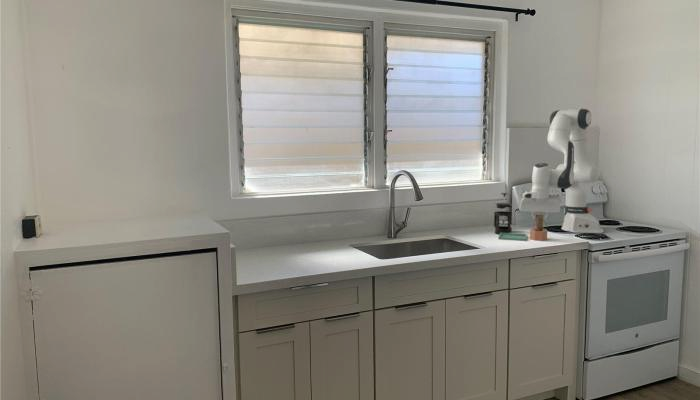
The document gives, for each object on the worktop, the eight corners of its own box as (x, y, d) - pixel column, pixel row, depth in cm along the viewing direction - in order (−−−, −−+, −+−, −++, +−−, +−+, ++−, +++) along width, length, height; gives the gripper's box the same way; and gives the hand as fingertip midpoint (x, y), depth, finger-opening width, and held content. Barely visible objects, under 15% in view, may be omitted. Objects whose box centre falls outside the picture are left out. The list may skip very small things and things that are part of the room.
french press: (516, 234, 301) (517, 193, 298) (504, 235, 296) (505, 194, 293) (500, 230, 311) (502, 191, 308) (488, 232, 307) (490, 192, 304)
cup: (546, 239, 284) (547, 228, 283) (546, 243, 276) (547, 231, 276) (530, 238, 287) (530, 227, 286) (529, 242, 279) (530, 230, 278)
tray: (526, 237, 290) (527, 234, 290) (525, 242, 277) (526, 239, 277) (500, 236, 295) (500, 232, 295) (498, 241, 282) (498, 237, 282)
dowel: (542, 235, 283) (543, 214, 281) (542, 236, 279) (543, 215, 278) (535, 234, 284) (536, 214, 282) (535, 236, 280) (535, 215, 279)
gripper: (561, 194, 278) (560, 220, 280) (520, 193, 285) (519, 218, 287) (561, 195, 272) (560, 222, 274) (519, 194, 279) (519, 220, 281)
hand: (539, 220), depth 280 cm, fingers closed on dowel, 4 cm apart
